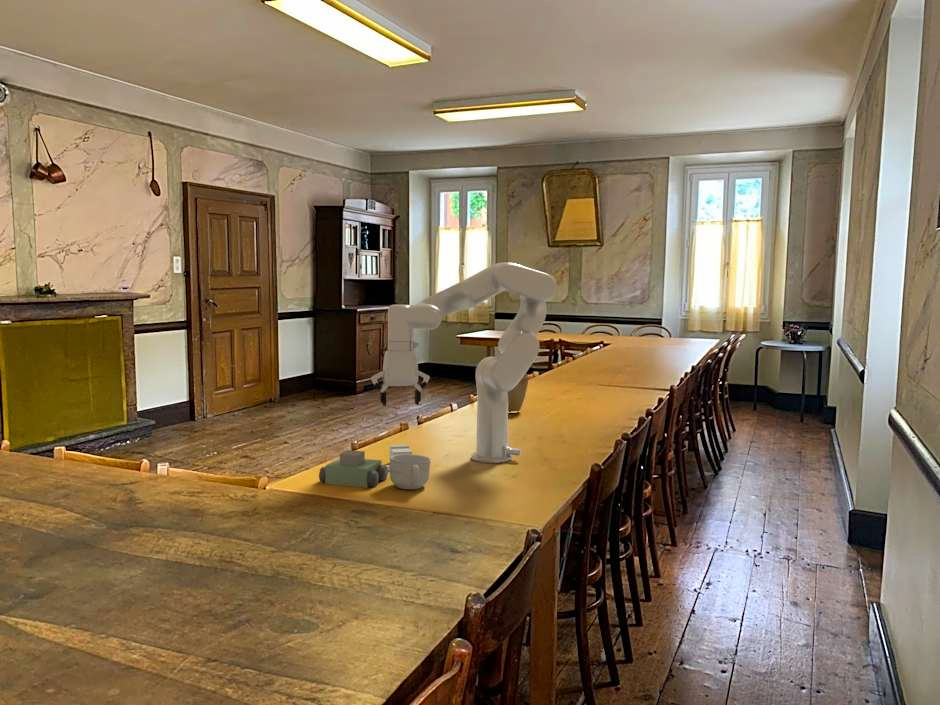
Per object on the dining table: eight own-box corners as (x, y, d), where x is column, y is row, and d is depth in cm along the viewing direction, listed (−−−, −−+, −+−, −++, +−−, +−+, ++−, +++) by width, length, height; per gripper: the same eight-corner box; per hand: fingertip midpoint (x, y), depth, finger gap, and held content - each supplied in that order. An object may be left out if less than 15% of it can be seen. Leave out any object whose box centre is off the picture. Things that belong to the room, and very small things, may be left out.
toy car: (398, 470, 207) (398, 443, 207) (373, 488, 189) (373, 458, 188) (348, 466, 211) (348, 439, 211) (319, 483, 193) (318, 454, 192)
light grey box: (407, 462, 218) (407, 444, 217) (411, 468, 211) (412, 449, 210) (389, 463, 216) (389, 445, 216) (393, 469, 210) (393, 450, 209)
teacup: (390, 481, 196) (390, 452, 196) (430, 481, 197) (430, 452, 196) (388, 496, 183) (388, 465, 182) (431, 496, 183) (431, 465, 183)
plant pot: (486, 410, 306) (487, 373, 305) (517, 408, 313) (518, 371, 311) (502, 416, 293) (503, 377, 291) (534, 414, 299) (535, 376, 298)
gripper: (427, 345, 216) (426, 401, 218) (369, 346, 212) (369, 403, 213) (432, 347, 209) (431, 406, 211) (372, 348, 205) (372, 407, 206)
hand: (400, 404), depth 212 cm, fingers open, 9 cm apart
